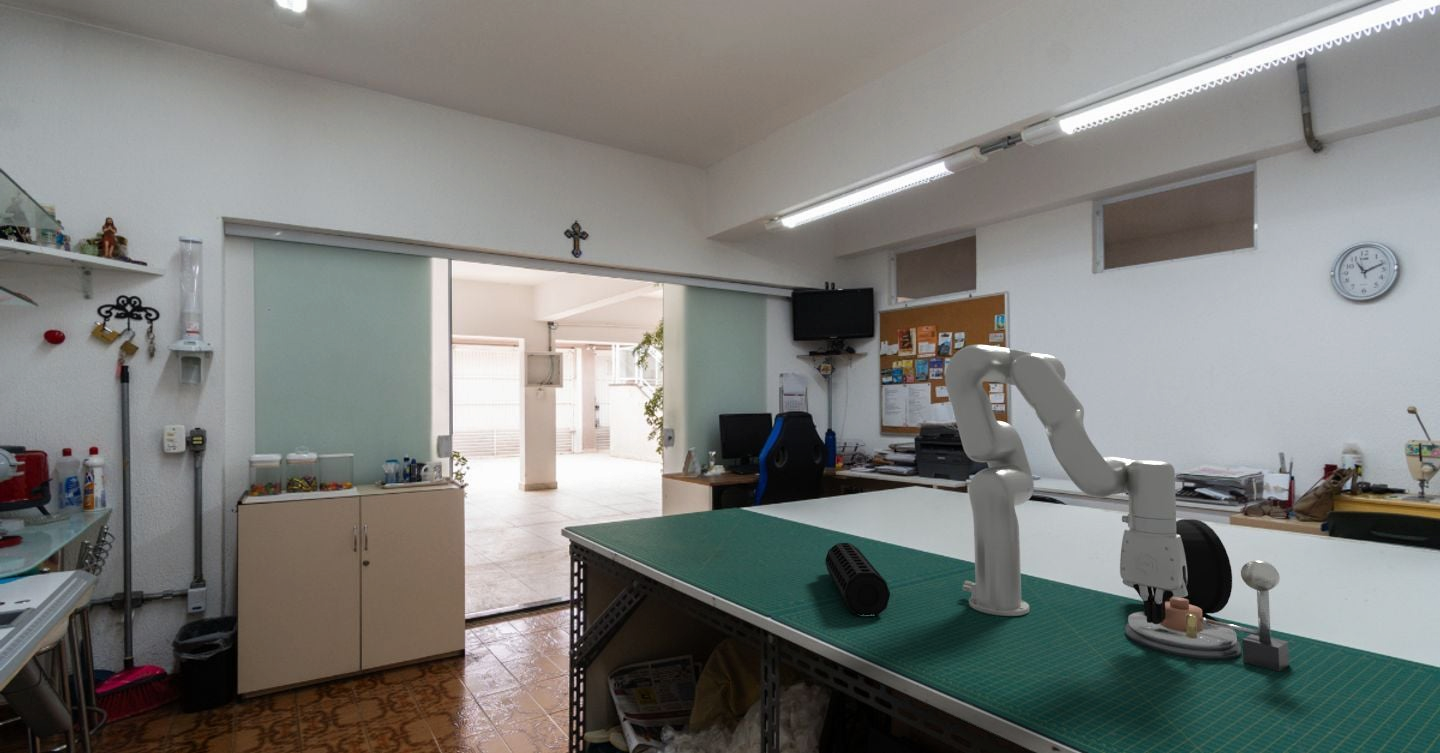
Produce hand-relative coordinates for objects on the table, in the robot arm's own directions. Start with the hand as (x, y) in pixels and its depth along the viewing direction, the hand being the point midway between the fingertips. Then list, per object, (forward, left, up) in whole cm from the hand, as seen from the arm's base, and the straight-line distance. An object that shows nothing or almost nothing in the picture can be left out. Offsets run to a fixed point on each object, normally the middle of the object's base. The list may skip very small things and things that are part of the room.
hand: (1155, 621), depth 122 cm
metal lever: (+11, +6, -4) cm, 14 cm away
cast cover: (+2, +6, -1) cm, 6 cm away
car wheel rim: (-6, +26, -5) cm, 27 cm away
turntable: (+2, +6, -3) cm, 7 cm away
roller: (-58, -22, -5) cm, 62 cm away
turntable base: (+2, +6, -4) cm, 8 cm away
